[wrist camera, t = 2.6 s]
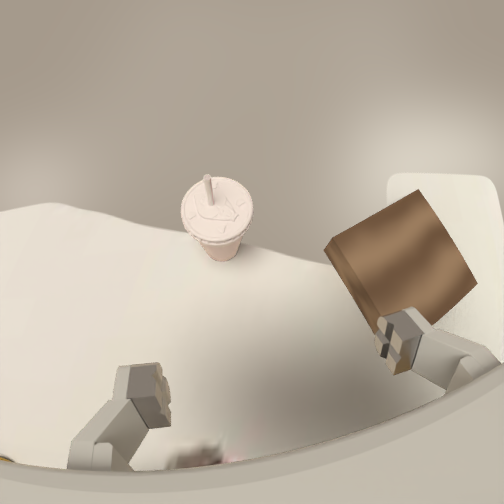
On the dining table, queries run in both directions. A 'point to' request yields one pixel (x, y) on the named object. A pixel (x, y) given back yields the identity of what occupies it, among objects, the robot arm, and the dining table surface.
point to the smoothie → (217, 215)
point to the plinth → (401, 262)
